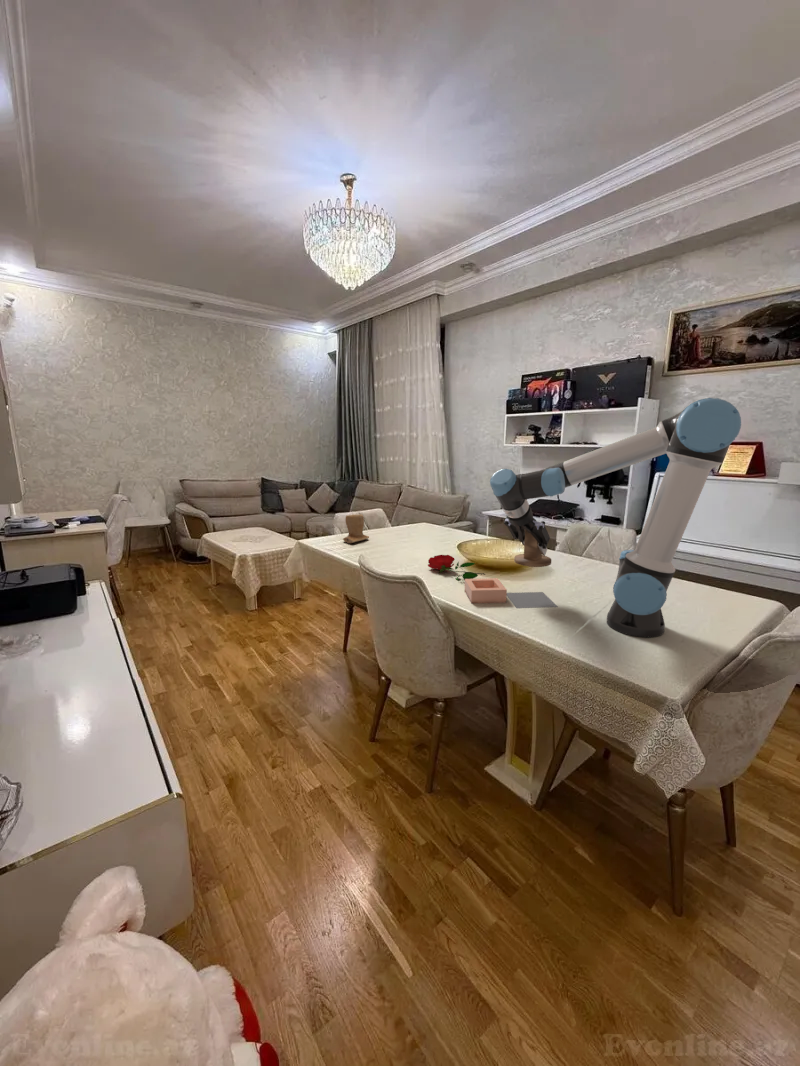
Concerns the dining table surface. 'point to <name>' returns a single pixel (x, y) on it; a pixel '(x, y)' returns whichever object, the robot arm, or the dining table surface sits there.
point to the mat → (530, 600)
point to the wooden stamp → (355, 528)
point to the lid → (532, 554)
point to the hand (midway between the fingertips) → (537, 550)
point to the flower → (445, 564)
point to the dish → (485, 590)
